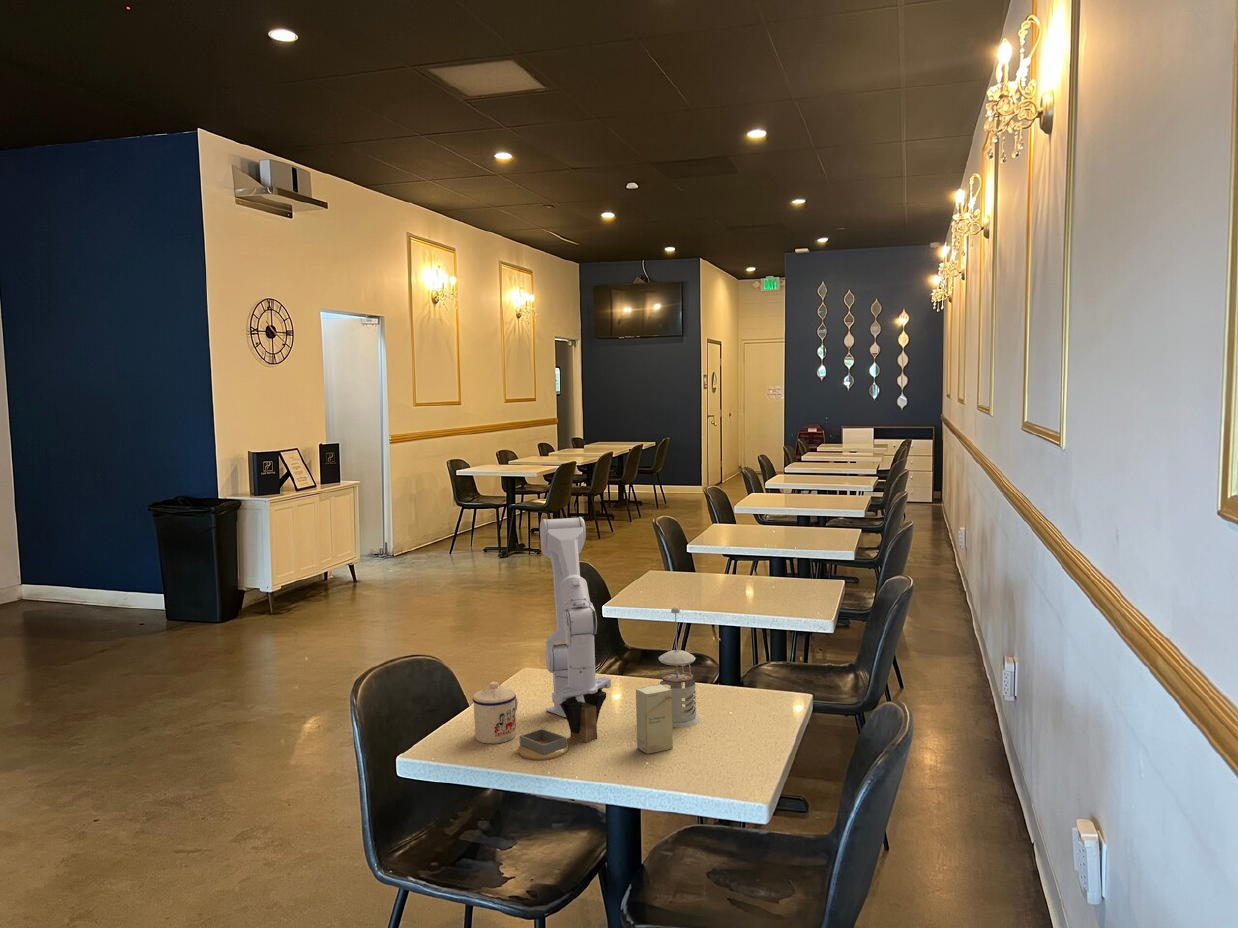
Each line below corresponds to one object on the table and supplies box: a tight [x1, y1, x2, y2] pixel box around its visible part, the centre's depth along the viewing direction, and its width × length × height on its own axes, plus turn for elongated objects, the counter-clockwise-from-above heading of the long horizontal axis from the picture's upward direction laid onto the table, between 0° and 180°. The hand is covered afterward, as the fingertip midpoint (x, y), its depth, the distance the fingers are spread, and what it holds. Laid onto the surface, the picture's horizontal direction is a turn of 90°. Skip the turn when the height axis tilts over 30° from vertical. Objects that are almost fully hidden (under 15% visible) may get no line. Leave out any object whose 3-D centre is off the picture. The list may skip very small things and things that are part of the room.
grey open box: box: [518, 728, 569, 761], centre depth 182 cm, size 10×10×3 cm
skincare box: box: [635, 684, 674, 754], centre depth 181 cm, size 6×4×12 cm
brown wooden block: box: [569, 701, 598, 744], centre depth 188 cm, size 3×5×7 cm, turn 44°
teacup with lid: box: [472, 681, 519, 744], centre depth 191 cm, size 12×9×12 cm
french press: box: [657, 606, 702, 728], centre depth 197 cm, size 10×12×25 cm
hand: (583, 728), depth 188 cm, fingers open, 4 cm apart
